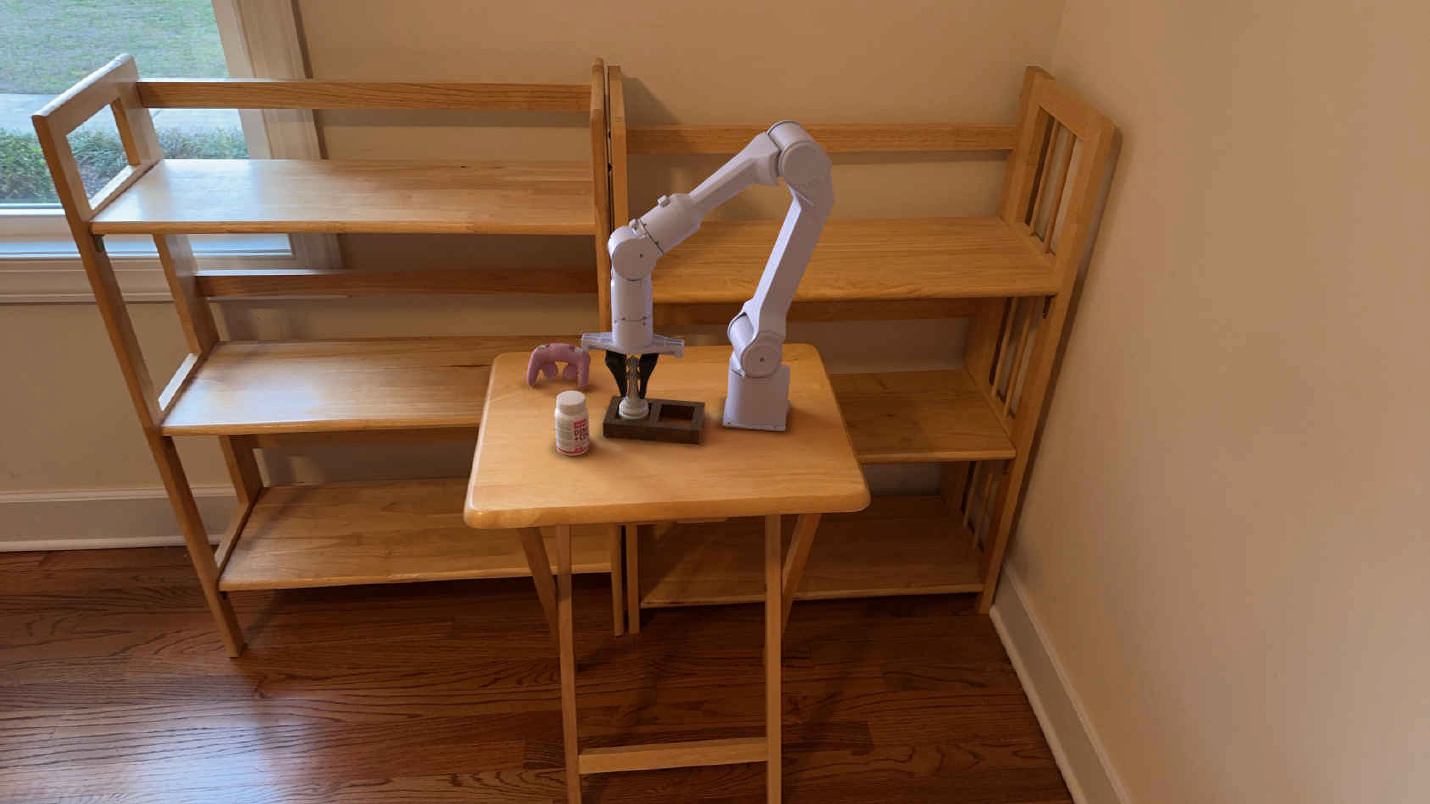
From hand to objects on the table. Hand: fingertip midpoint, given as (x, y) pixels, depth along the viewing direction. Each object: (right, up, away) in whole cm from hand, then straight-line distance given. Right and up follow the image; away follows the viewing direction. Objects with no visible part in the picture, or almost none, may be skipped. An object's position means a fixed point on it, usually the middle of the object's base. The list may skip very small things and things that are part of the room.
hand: (633, 394), depth 141 cm
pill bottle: (-8, -8, -3) cm, 12 cm away
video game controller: (-13, +2, +13) cm, 19 cm away
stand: (+3, -5, +3) cm, 6 cm away
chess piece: (0, -3, +2) cm, 4 cm away
